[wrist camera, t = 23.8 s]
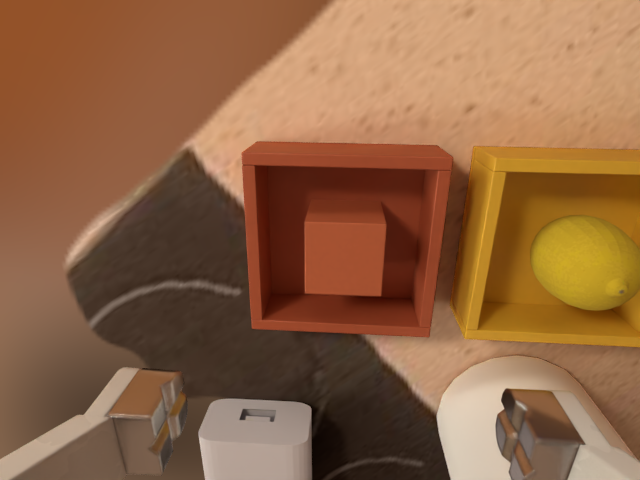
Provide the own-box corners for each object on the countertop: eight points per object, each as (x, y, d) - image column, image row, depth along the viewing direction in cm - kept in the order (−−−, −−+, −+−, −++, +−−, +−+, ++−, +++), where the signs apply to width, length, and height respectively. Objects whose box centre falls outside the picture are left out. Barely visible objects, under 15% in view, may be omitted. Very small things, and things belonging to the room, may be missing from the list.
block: (311, 199, 29) (304, 221, 25) (380, 200, 29) (387, 224, 24) (311, 261, 31) (304, 293, 27) (376, 264, 31) (381, 296, 26)
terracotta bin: (256, 141, 28) (241, 152, 24) (438, 145, 28) (453, 157, 24) (263, 297, 33) (251, 329, 29) (419, 304, 32) (429, 337, 28)
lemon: (500, 261, 30) (550, 321, 23) (532, 191, 28) (599, 232, 21) (570, 279, 30) (642, 344, 23) (608, 211, 28) (700, 259, 21)
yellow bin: (473, 146, 28) (495, 158, 24) (665, 150, 27) (723, 163, 23) (449, 305, 32) (464, 339, 28) (612, 312, 32) (652, 348, 28)
